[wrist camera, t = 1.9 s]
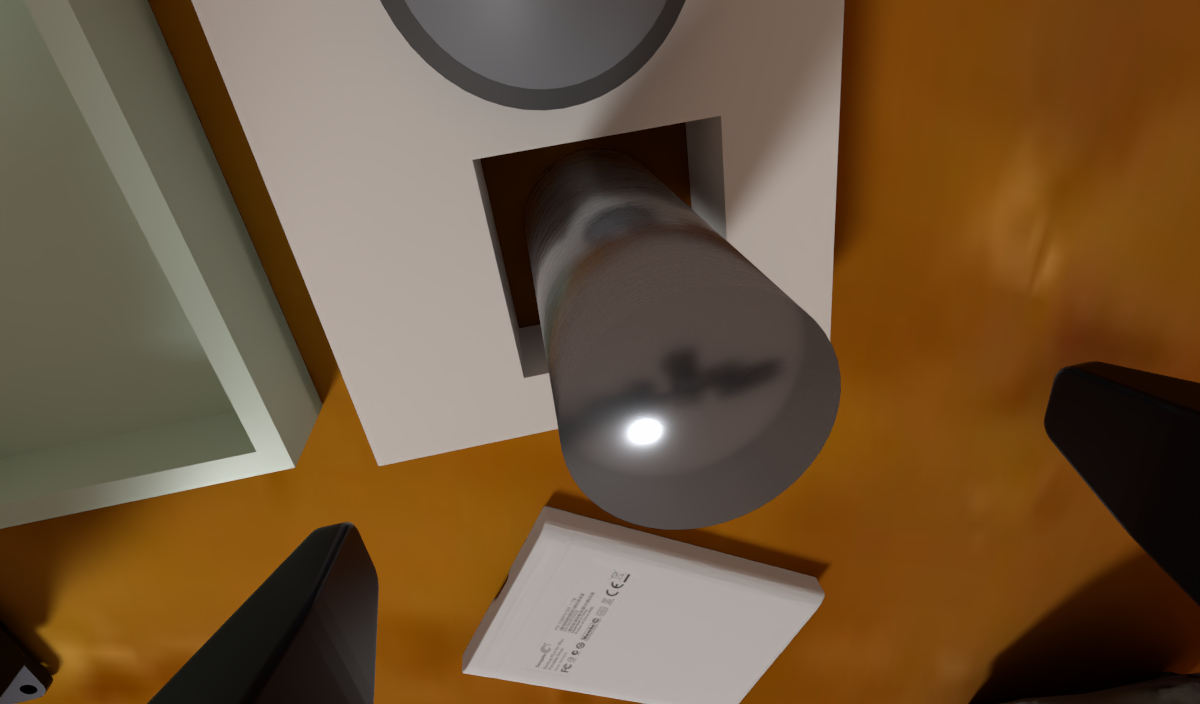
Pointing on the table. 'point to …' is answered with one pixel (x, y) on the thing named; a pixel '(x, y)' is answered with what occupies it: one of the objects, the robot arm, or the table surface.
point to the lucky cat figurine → (1134, 693)
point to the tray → (126, 279)
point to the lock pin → (669, 351)
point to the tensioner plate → (500, 126)
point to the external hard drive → (637, 615)
